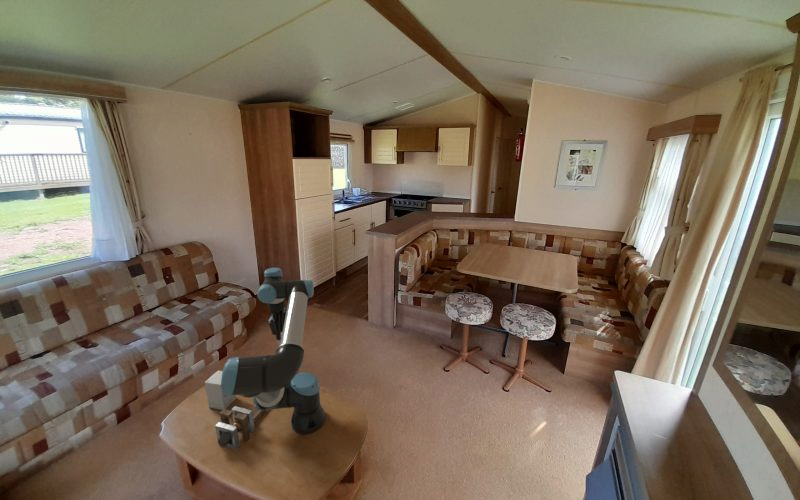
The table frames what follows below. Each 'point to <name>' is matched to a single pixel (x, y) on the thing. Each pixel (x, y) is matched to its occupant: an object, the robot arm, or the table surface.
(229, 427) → the collar
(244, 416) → the aperture bridge
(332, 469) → the table surface
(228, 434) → the tube
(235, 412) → the collar
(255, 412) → the rail
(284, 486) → the table surface
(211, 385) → the supplement box
